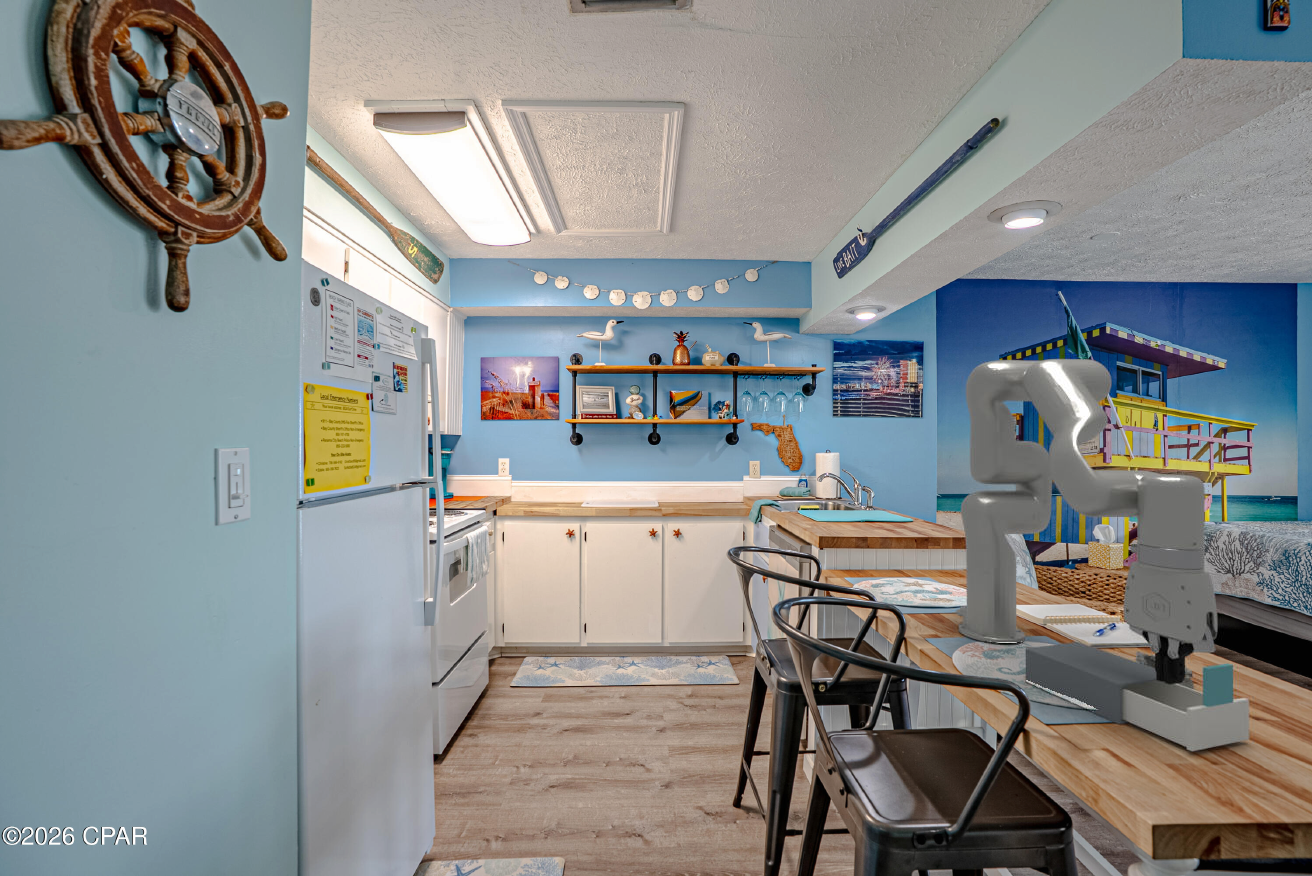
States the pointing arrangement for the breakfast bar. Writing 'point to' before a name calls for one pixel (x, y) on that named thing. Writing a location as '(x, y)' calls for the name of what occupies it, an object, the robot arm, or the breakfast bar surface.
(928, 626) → the breakfast bar surface
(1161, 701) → the grey drawer
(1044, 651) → the sleeve
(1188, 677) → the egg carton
